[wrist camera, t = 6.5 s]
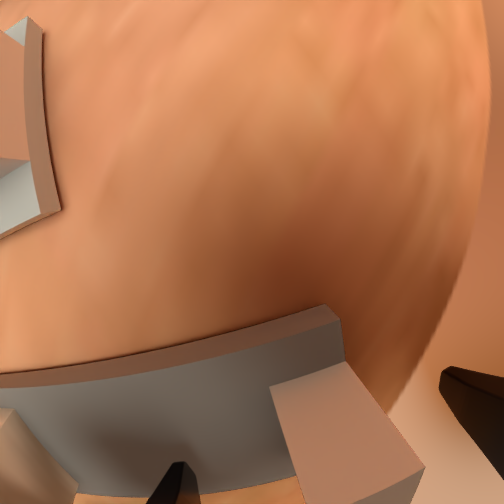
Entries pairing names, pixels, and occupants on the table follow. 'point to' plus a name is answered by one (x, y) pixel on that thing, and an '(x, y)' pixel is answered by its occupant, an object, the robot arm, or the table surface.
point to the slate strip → (23, 131)
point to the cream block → (29, 467)
